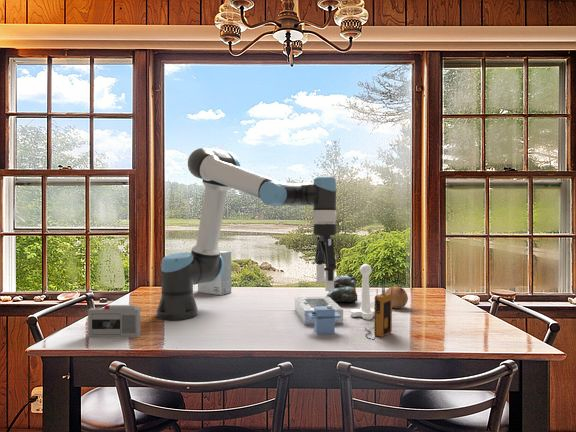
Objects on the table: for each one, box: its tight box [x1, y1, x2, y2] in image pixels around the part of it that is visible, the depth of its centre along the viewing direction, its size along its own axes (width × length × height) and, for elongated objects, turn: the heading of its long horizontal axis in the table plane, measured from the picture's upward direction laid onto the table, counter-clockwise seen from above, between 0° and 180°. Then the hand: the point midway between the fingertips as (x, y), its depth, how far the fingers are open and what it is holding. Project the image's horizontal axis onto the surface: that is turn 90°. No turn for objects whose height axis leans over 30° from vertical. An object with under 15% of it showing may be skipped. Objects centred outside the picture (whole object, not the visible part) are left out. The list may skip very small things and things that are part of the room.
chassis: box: [294, 296, 344, 326], centre depth 163 cm, size 14×22×5 cm, turn 8°
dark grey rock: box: [325, 273, 358, 303], centre depth 188 cm, size 15×12×14 cm
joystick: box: [350, 263, 374, 320], centre depth 162 cm, size 11×8×20 cm
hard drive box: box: [197, 250, 232, 296], centre depth 207 cm, size 16×8×20 cm, turn 58°
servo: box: [308, 305, 341, 335], centre depth 143 cm, size 10×4×9 cm, turn 98°
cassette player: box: [87, 304, 142, 339], centre depth 138 cm, size 16×3×10 cm, turn 92°
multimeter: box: [364, 272, 393, 341], centre depth 143 cm, size 15×10×20 cm
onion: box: [385, 286, 409, 309], centre depth 177 cm, size 10×9×10 cm
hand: (324, 286), depth 143 cm, fingers open, 13 cm apart
